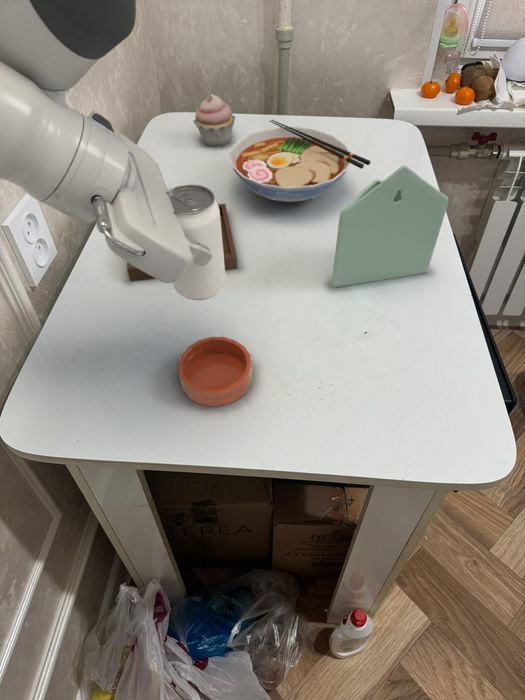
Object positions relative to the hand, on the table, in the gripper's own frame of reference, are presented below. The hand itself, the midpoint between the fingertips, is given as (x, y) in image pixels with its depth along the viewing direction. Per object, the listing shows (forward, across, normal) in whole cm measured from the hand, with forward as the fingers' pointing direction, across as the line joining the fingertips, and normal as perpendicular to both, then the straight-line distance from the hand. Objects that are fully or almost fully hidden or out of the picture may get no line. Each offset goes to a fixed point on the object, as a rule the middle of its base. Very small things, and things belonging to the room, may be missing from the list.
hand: (198, 237), depth 57 cm
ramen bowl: (+31, +35, -4) cm, 47 cm away
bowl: (+13, -5, +14) cm, 20 cm away
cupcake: (+26, +60, +2) cm, 65 cm away
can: (+4, 0, +5) cm, 7 cm away
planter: (+35, +9, -7) cm, 37 cm away
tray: (+14, +25, +13) cm, 32 cm away
